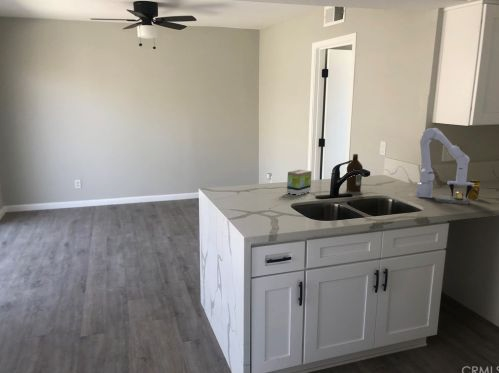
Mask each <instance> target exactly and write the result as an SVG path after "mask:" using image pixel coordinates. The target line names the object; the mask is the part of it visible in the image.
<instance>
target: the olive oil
mask: <svg viewBox="0 0 499 373" xmlns="http://www.w3.org/2000/svg"><path fill="white" fill-rule="evenodd" d="M350 162H351V163H350ZM350 162H348V163H347V167H346V173H347V172H349V171H351V170H353V169H363V170H364V167H363V164H362V163H361V162H360V161H359V154H358V153H353V154H352V160H351V161H350ZM362 179H363V175H362V176H361V175H355V176H352V177H350V178H348V179H347V178H346V191H347V190H349V191H348V192H352V191H358V192H360V191H361V190H362V189H361V188H362Z"/></svg>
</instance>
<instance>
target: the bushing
mask: <svg viewBox="0 0 499 373" xmlns="http://www.w3.org/2000/svg"><path fill="white" fill-rule="evenodd" d="M463 197H464V192H463V191H455V199H458V200H463Z"/></svg>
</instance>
